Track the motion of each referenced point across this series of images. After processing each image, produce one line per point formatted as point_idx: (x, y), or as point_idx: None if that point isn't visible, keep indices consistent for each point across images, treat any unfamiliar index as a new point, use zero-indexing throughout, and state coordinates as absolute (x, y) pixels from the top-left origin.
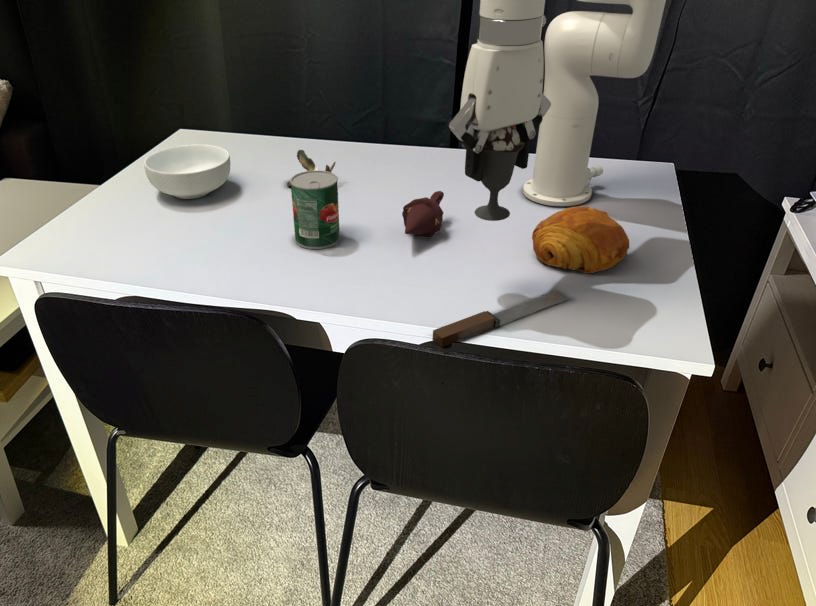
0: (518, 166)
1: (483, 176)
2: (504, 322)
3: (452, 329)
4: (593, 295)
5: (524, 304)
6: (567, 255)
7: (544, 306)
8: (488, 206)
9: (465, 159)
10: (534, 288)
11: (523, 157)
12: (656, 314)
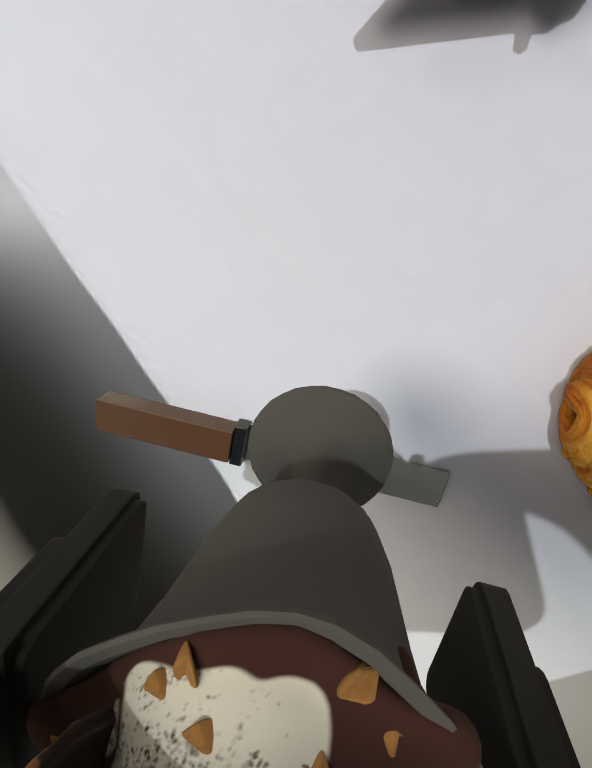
0: (435, 657)
1: (125, 617)
2: None
3: (129, 426)
4: (492, 532)
5: None
6: (580, 466)
7: None
8: (291, 465)
9: (2, 589)
10: (433, 428)
11: None
12: None
